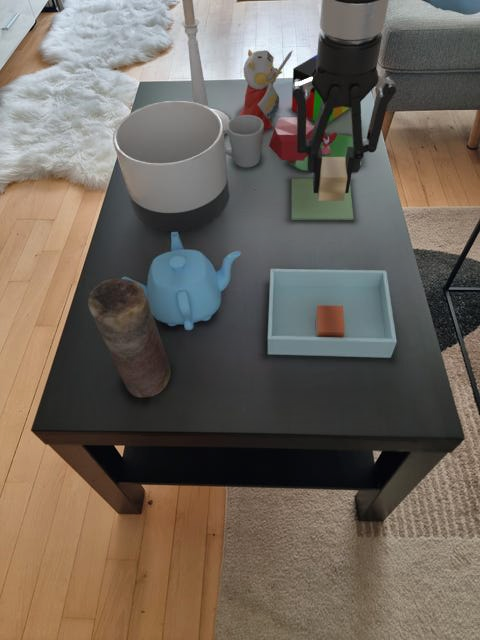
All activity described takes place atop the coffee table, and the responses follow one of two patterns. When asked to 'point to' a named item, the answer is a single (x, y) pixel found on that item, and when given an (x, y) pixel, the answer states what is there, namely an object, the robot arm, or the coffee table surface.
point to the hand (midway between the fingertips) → (330, 187)
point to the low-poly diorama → (286, 139)
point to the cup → (245, 139)
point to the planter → (173, 164)
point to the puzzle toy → (312, 91)
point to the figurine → (261, 86)
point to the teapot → (185, 285)
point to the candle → (131, 335)
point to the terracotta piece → (329, 321)
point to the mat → (317, 204)
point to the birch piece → (332, 179)
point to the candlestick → (197, 60)
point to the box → (338, 290)
